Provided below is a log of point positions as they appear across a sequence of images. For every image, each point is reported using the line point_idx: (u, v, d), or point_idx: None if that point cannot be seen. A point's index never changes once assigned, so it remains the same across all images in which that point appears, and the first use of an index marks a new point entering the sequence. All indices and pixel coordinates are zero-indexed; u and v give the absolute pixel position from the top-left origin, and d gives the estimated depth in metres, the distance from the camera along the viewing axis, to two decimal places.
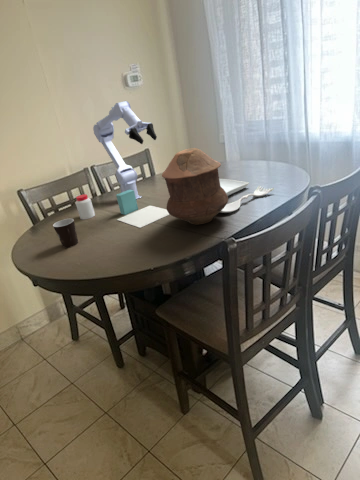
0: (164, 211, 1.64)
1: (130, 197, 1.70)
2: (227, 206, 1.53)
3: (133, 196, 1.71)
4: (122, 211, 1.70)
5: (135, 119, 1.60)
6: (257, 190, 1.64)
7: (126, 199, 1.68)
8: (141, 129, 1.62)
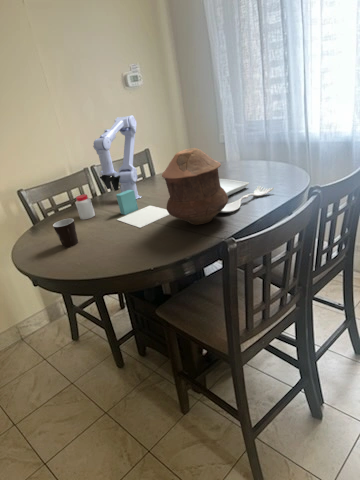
0: (164, 211, 1.64)
1: (130, 197, 1.70)
2: (227, 206, 1.53)
3: (133, 196, 1.71)
4: (122, 211, 1.70)
5: (102, 168, 1.71)
6: (257, 190, 1.64)
7: (126, 199, 1.68)
8: (110, 175, 1.73)
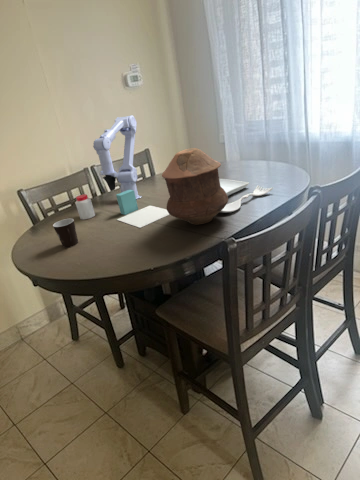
0: (164, 211, 1.64)
1: (130, 197, 1.70)
2: (227, 206, 1.53)
3: (133, 196, 1.71)
4: (122, 211, 1.70)
5: (102, 168, 1.71)
6: (256, 190, 1.64)
7: (126, 199, 1.68)
8: (110, 175, 1.73)
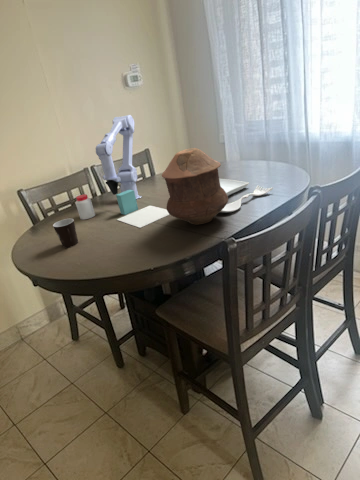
0: (164, 211, 1.64)
1: (130, 197, 1.70)
2: (228, 206, 1.53)
3: (133, 196, 1.71)
4: (122, 211, 1.70)
5: (104, 173, 1.72)
6: (256, 190, 1.64)
7: (126, 199, 1.68)
8: None
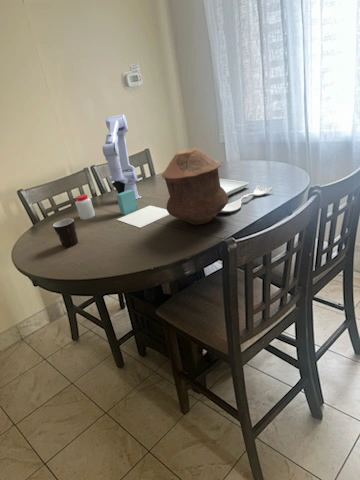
0: (164, 211, 1.64)
1: (130, 197, 1.70)
2: (228, 206, 1.53)
3: (133, 196, 1.71)
4: (122, 211, 1.70)
5: (111, 174, 1.67)
6: (256, 190, 1.65)
7: (126, 199, 1.68)
8: (119, 181, 1.69)
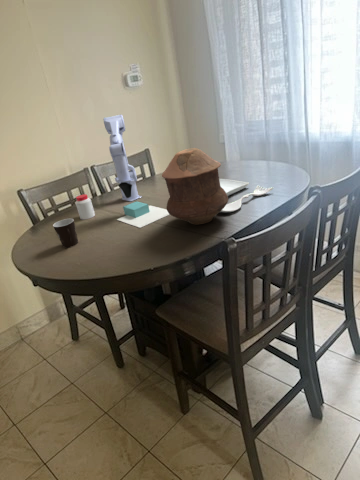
0: (164, 211, 1.64)
1: None
2: (228, 206, 1.53)
3: None
4: (125, 211, 1.68)
5: (117, 175, 1.62)
6: (256, 189, 1.65)
7: None
8: (126, 182, 1.65)
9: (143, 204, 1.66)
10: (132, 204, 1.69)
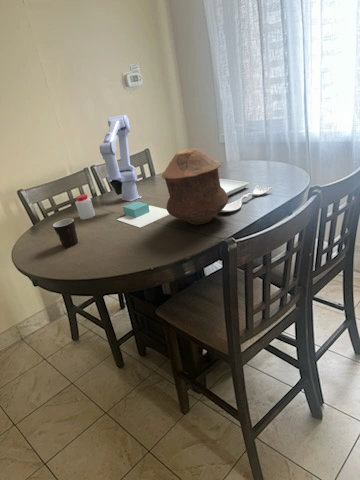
0: (164, 211, 1.64)
1: None
2: (228, 206, 1.53)
3: None
4: (125, 211, 1.68)
5: (108, 173, 1.69)
6: (256, 189, 1.65)
7: None
8: (116, 179, 1.71)
9: (143, 204, 1.66)
10: (132, 204, 1.69)
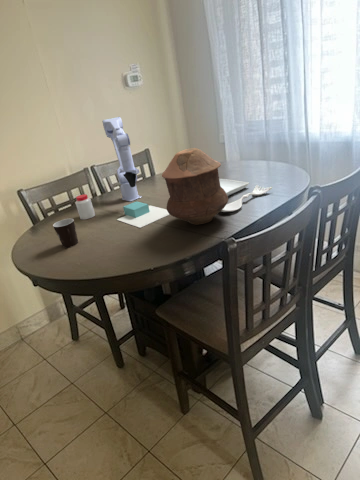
0: (164, 211, 1.64)
1: None
2: (229, 205, 1.53)
3: None
4: (125, 211, 1.68)
5: (122, 165, 1.69)
6: (256, 189, 1.65)
7: None
8: (130, 172, 1.71)
9: (143, 204, 1.66)
10: (132, 204, 1.69)
